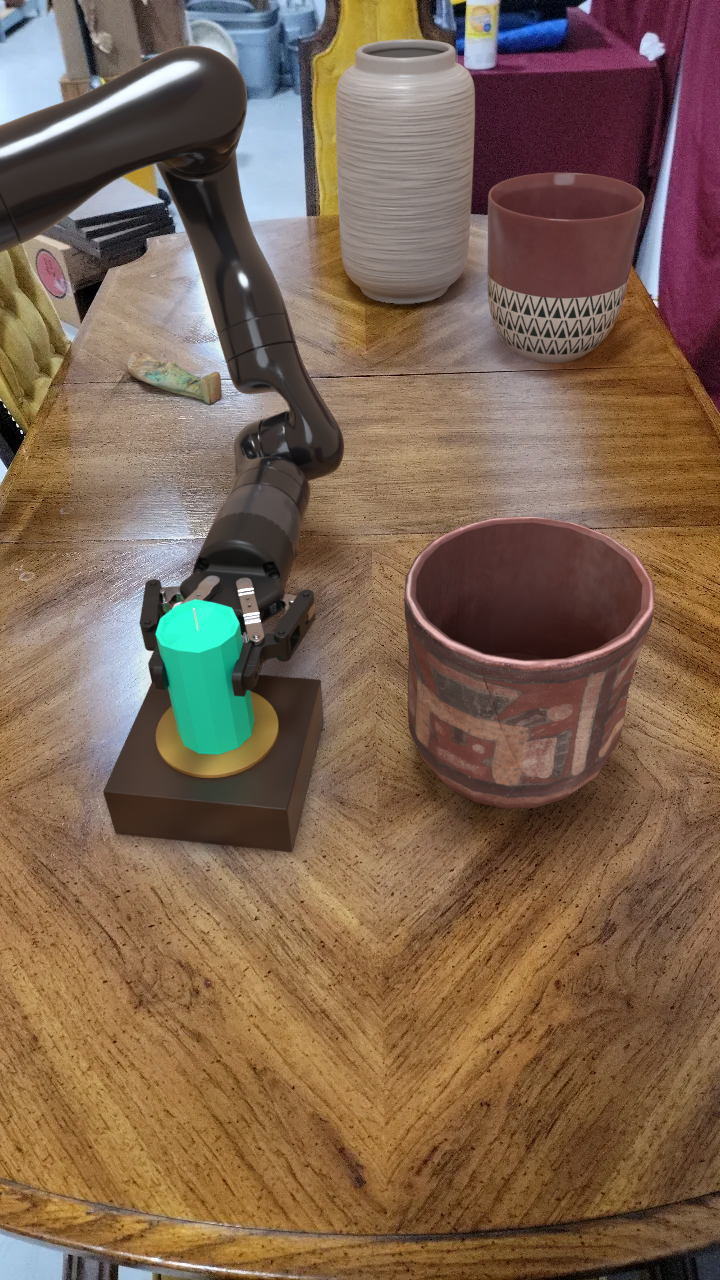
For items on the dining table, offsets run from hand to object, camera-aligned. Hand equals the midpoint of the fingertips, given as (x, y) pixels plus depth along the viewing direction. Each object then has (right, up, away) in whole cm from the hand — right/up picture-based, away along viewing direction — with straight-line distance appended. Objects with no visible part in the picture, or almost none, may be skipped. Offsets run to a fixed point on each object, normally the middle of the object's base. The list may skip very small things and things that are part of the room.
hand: (198, 684), depth 71 cm
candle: (0, -4, +7) cm, 8 cm away
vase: (+19, +60, +88) cm, 108 cm away
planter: (+38, +43, +68) cm, 89 cm away
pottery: (+24, -7, +11) cm, 27 cm away
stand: (+1, -8, +10) cm, 13 cm away
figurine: (-14, +37, +63) cm, 75 cm away
